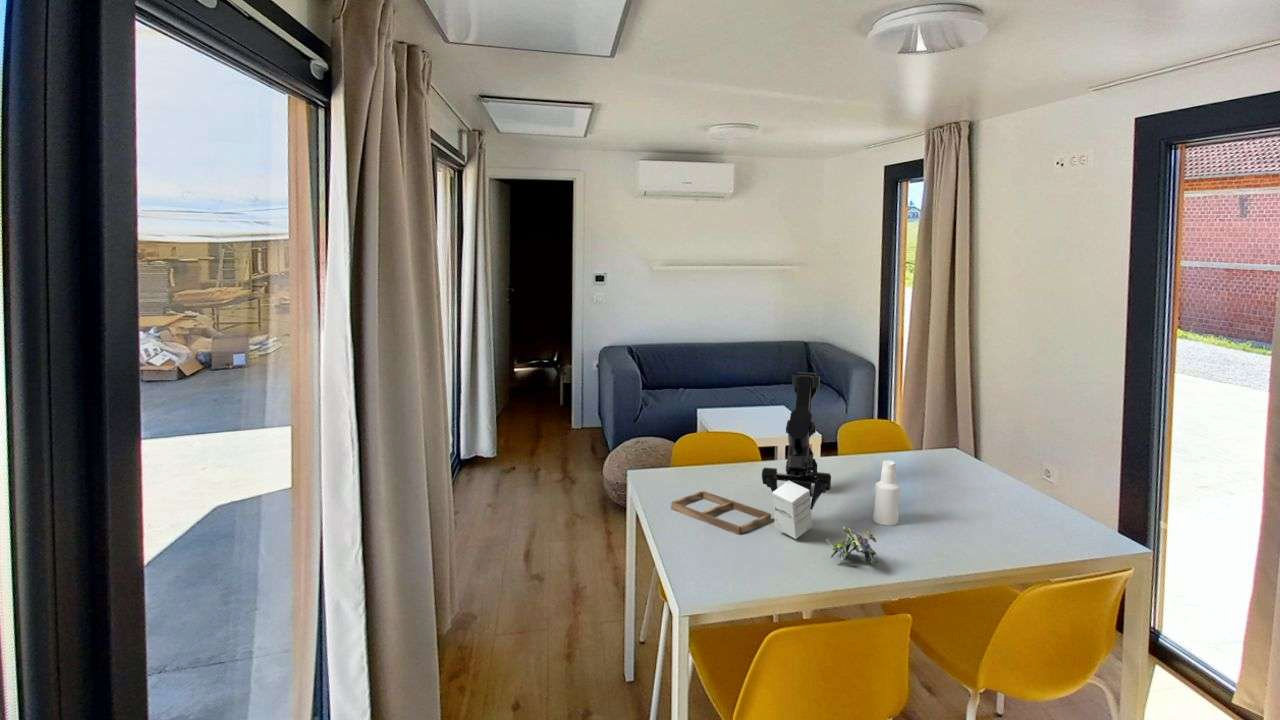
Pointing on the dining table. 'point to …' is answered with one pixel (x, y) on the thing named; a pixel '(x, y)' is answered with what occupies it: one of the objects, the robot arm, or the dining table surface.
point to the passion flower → (855, 546)
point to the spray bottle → (887, 496)
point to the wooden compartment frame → (725, 506)
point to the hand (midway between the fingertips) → (793, 507)
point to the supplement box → (792, 509)
